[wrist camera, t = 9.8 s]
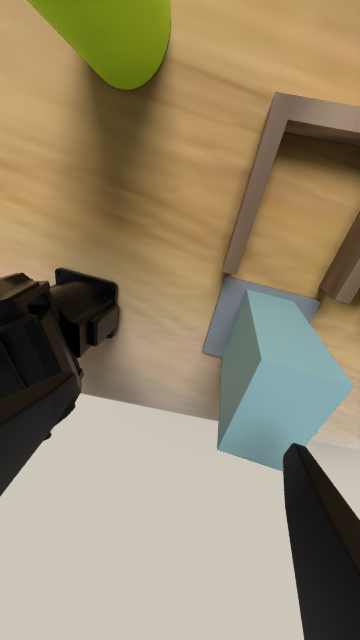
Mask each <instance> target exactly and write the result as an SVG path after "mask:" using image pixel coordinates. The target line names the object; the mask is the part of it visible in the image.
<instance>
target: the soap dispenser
mask: <svg viewBox="0 0 360 640" xmlns="http://www.w3.org/2000/svg"><path fill="white" fill-rule="evenodd" d="M27 1H28V2H29V3H30V4H31V5H32V6H33V7H34V8H35V9H36V10H37V11H38V12H39V13H40V14H41V15H42V16H43V17H44V18H45V19H46V20H47V22H48V23H49V24H50V25H51V26H52V27H53V28H54V29H55V30H56V31H57V32H58V33H59V34H60V35H61V36H62V37H63V38H64V39H65V40H66V41H67V42H68V43H69V44H70V45H71V47H72V48H73V49H74V50H75V51H76V52H77V53H78V54H79V55H80V56H81V57H82V58H83V59H84V60H85V61H86V62H87V63H88V64H89V65H90V66H91V67H92V68H93V69H94V70H95V72H96V73H97V74H98V75H99V76H100V77H101V78H102V79H103V80H104V81H106V82H107V83H108V84H110V85H111V86H113V87H115V88H118V89H122V90H131V89H135V88H138V87H140V86H142V85H143V84H145V83H146V82H147V81H148V80H149V79H150V78H151V77H152V76H153V75H154V74H155V72H156V71H157V69H158V68H159V66H160V64H161V62H162V60H163V58H164V55H165V52H166V49H167V45H168V41H169V35H170V25H171V11H170V1H169V0H27Z"/></svg>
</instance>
